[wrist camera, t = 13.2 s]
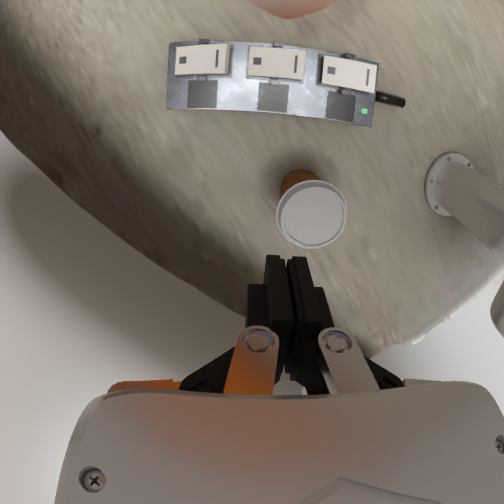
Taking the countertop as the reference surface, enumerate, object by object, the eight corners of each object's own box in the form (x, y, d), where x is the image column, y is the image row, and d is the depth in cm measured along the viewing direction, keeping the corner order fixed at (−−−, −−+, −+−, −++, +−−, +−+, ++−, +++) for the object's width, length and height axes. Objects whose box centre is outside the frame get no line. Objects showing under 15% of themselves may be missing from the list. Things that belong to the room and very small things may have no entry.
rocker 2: (306, 50, 30) (306, 49, 29) (303, 81, 33) (303, 81, 32) (252, 46, 31) (249, 45, 30) (249, 77, 34) (247, 76, 33)
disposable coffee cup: (260, 175, 46) (263, 203, 36) (315, 150, 44) (335, 170, 33) (286, 223, 50) (295, 262, 40) (337, 200, 48) (359, 234, 38)
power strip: (402, 74, 36) (420, 74, 31) (394, 130, 41) (411, 137, 36) (176, 46, 35) (165, 40, 30) (173, 107, 40) (162, 110, 35)
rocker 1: (230, 43, 30) (226, 42, 29) (227, 75, 32) (224, 74, 31) (181, 46, 31) (176, 45, 30) (179, 76, 34) (174, 76, 33)
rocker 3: (375, 65, 31) (377, 64, 30) (372, 94, 33) (374, 94, 32) (324, 55, 32) (324, 53, 31) (321, 85, 34) (321, 84, 33)
